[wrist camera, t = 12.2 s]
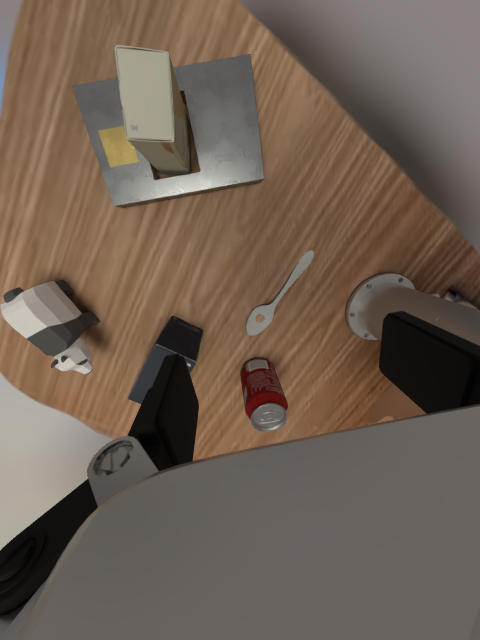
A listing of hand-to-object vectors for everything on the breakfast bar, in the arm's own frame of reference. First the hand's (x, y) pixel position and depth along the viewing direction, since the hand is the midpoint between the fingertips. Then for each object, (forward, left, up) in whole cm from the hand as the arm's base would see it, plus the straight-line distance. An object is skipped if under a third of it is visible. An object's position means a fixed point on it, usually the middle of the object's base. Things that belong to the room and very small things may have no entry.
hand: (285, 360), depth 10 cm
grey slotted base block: (+5, -17, -28) cm, 33 cm away
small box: (+14, +12, -29) cm, 34 cm away
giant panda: (+28, +3, -29) cm, 40 cm away
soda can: (0, +21, -28) cm, 35 cm away
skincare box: (+6, -17, -28) cm, 34 cm away
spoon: (-7, +5, -29) cm, 30 cm away
